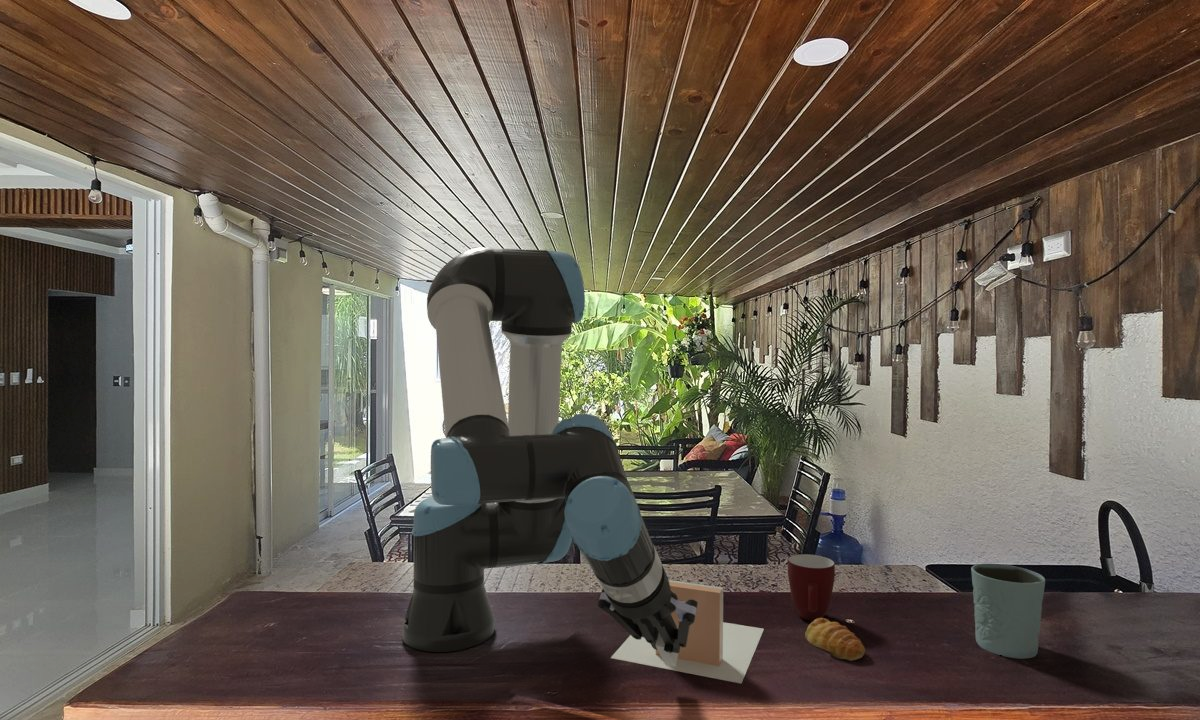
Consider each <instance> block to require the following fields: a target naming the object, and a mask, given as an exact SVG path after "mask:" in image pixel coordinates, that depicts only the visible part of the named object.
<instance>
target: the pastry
mask: <svg viewBox="0 0 1200 720" xmlns="http://www.w3.org/2000/svg"><path fill="white" fill-rule="evenodd" d="M804 633H805V634H804V636H805V639H806V641H808V643H809V644H810V645H812V646H814V647H816V648H818V649H820V650H823V651H825V652H828V653H830V654H829V655H830V656H831V657H834V658H836V659H839V660H847V661H850V662H852V661H856V660H859V659H861V658H863V656H864V655H865V652H866V648H865V646H864V644H863V643H862V640H861V639H860V638H858V637H857V636H856V633H854V632H851V630H849V629H848V627H847V626H846V625H842V624H840V622H838V621H830V620H829V619H828V618H824V617H823V618H817V619H815V620H814V621H813V620H812V621H811V622H810V624H808V626H807V629H806V631H805V632H804Z"/></svg>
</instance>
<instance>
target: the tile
mask: <svg viewBox="0 0 1200 720" xmlns="http://www.w3.org/2000/svg"><path fill="white" fill-rule="evenodd" d="M668 580H669V584H670V590H671V591H672V592H673V593H675V594H676V595H677V598H678V601H681V602H682V601H685V602H687V601H688V600H695V601H697V602H698V604H697V610H696V615H695V620H694V623H693V624H691V625H690V628H689V634H688V639H687V644H686V647H680V651H679V653H678V659H683V660H688V661H694V662H699V663H705V664H710V665H715V666H720V664H721V662H722V660H723V622H724V587H722V586H713V585H706V584H700V583H692V582H685V581H680V580H679V581H678V580H671V579H668ZM671 616H672V618H673V620H674V622H675V624H676V626H677V629H678V628H679V622H680V621H678V615H677V612H676V611H674V612H673V613H671ZM656 655H660V653H659V651H658V650H656Z"/></svg>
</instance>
